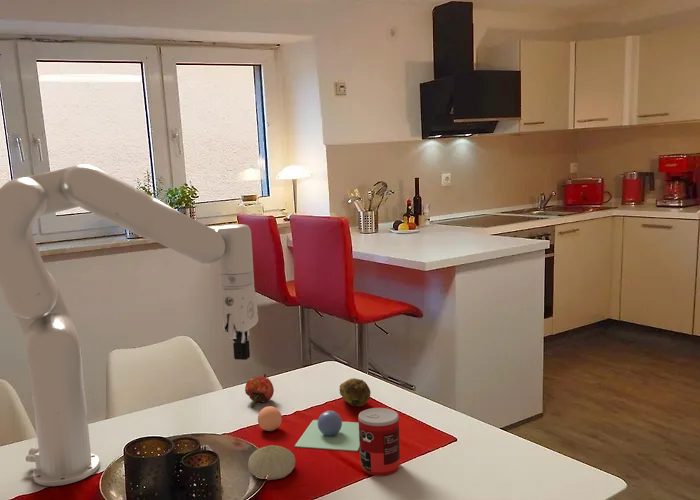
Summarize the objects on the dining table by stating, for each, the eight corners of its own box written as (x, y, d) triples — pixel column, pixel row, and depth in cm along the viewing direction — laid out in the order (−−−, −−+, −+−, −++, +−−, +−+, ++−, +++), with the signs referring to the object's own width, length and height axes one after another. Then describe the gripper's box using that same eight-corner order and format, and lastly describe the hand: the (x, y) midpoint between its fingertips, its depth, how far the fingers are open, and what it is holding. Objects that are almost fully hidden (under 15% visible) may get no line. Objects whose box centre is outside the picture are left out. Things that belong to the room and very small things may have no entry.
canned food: (360, 458, 130) (358, 407, 129) (399, 457, 130) (397, 406, 129) (359, 477, 123) (357, 423, 121) (401, 476, 123) (399, 422, 121)
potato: (373, 396, 164) (372, 367, 163) (370, 416, 151) (369, 384, 150) (341, 396, 165) (339, 367, 164) (335, 416, 152) (334, 384, 151)
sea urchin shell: (291, 476, 121) (261, 446, 121) (265, 501, 123) (236, 472, 123) (304, 453, 130) (276, 426, 130) (280, 477, 131) (252, 450, 132)
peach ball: (272, 407, 142) (281, 429, 142) (279, 399, 148) (288, 421, 148) (250, 415, 144) (260, 437, 144) (258, 407, 149) (267, 429, 149)
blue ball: (339, 419, 138) (337, 442, 139) (345, 409, 143) (343, 432, 144) (315, 414, 139) (313, 437, 140) (322, 404, 145) (320, 426, 146)
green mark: (294, 446, 137) (294, 445, 137) (313, 420, 150) (313, 419, 150) (357, 451, 134) (357, 450, 134) (370, 424, 147) (370, 423, 147)
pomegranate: (269, 416, 160) (285, 383, 166) (253, 400, 155) (271, 366, 161) (247, 414, 164) (264, 381, 170) (231, 398, 160) (249, 365, 166)
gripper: (239, 286, 134) (244, 369, 137) (264, 273, 148) (269, 349, 151) (206, 286, 136) (212, 368, 138) (235, 273, 150) (239, 348, 153)
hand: (242, 358), depth 145 cm, fingers closed
